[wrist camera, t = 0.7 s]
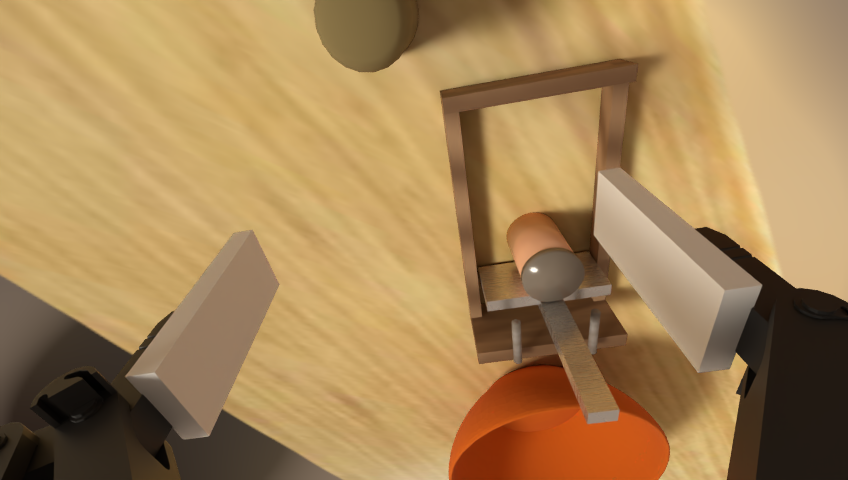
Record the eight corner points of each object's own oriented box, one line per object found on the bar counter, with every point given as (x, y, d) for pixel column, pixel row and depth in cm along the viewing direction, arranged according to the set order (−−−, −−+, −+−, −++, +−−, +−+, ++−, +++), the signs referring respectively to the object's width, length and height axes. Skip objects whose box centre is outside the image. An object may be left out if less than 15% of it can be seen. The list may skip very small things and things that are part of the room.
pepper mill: (433, -5, 28) (442, -10, 18) (397, 74, 31) (389, 105, 21) (355, -53, 26) (323, -86, 17) (325, 35, 29) (283, 49, 20)
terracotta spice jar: (504, 216, 38) (522, 257, 31) (557, 207, 37) (586, 248, 31) (506, 259, 40) (523, 305, 34) (556, 251, 40) (582, 297, 34)
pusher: (478, 267, 40) (516, 421, 25) (588, 251, 39) (694, 400, 24) (479, 276, 41) (516, 432, 26) (587, 260, 40) (690, 412, 25)
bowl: (621, 437, 58) (657, 512, 50) (458, 459, 60) (465, 534, 52) (635, 317, 45) (687, 390, 37) (427, 350, 47) (430, 426, 39)
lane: (439, 91, 31) (447, 116, 24) (619, 59, 30) (682, 75, 23) (470, 315, 44) (481, 375, 37) (596, 298, 43) (632, 356, 36)
